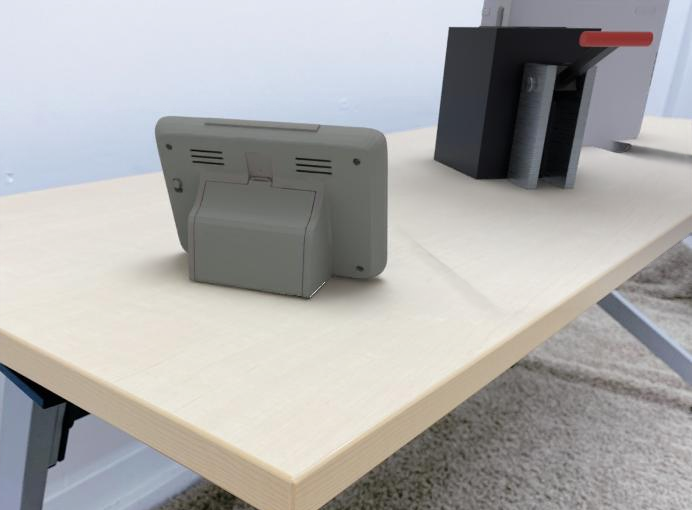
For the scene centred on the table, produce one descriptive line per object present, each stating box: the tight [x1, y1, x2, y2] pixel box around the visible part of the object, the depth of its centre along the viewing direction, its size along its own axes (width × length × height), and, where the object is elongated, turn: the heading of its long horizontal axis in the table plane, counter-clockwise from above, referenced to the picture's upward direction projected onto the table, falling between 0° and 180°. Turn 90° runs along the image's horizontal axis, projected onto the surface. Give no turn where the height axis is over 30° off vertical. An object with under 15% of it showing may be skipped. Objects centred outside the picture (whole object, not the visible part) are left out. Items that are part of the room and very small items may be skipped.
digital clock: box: [154, 115, 389, 298], centre depth 48 cm, size 16×9×11 cm, turn 55°
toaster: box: [433, 25, 602, 181], centre depth 78 cm, size 12×11×16 cm
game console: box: [479, 0, 671, 153], centre depth 93 cm, size 6×27×20 cm, turn 115°
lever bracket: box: [506, 63, 597, 190], centre depth 71 cm, size 5×7×13 cm
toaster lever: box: [551, 31, 653, 102], centre depth 65 cm, size 11×6×2 cm, turn 8°
